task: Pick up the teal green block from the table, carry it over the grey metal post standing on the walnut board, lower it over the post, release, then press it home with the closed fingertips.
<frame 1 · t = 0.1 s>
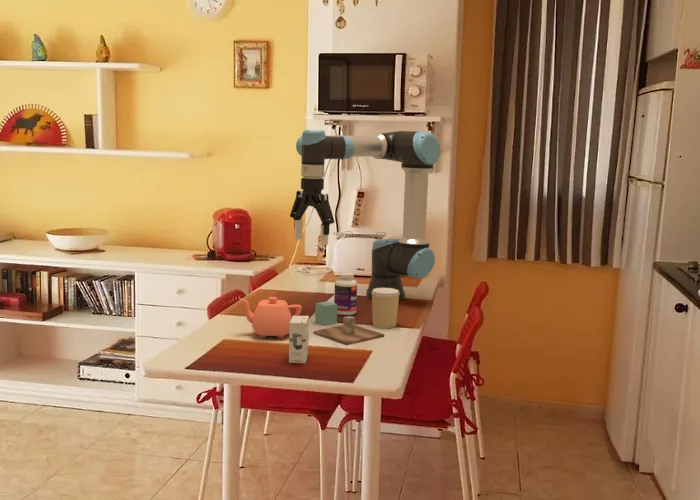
hand: (310, 242, 250), 28 cm above the table, fingers open, 13 cm apart
ink box: (298, 359, 216), on the table
pill bottle: (345, 313, 270), on the table
post stand: (348, 335, 241), on the table
coffee cup: (384, 325, 255), on the table
teal green block: (325, 322, 256), on the table
teapot: (269, 335, 239), on the table
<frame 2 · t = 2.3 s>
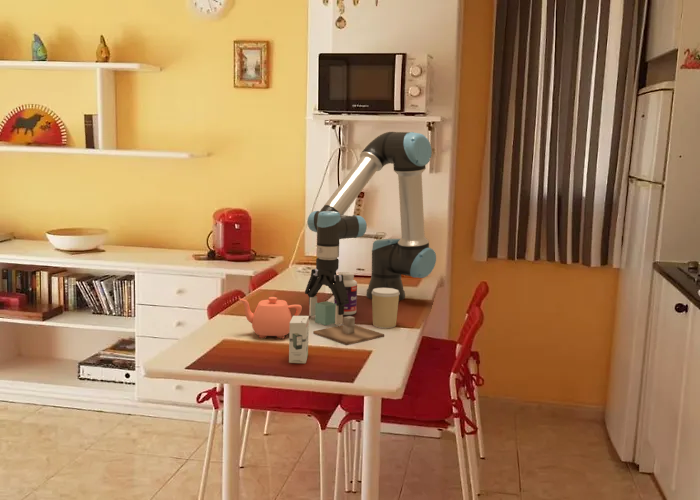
hand: (325, 319, 256), 1 cm above the table, fingers open, 13 cm apart
nothing on the table moved.
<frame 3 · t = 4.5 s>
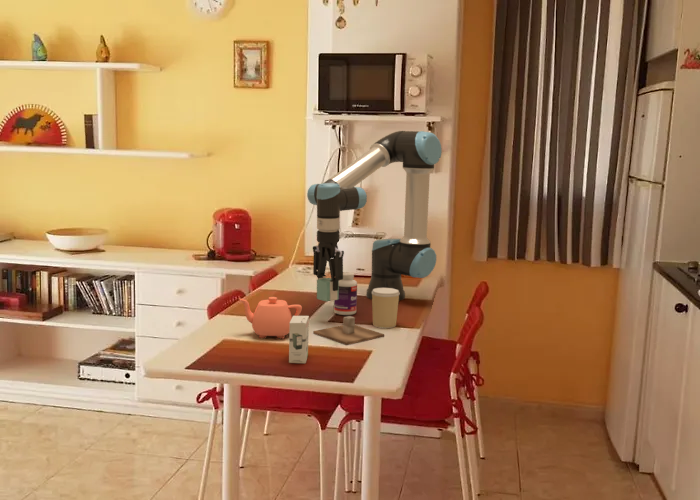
hand: (327, 298, 255), 8 cm above the table, fingers closed on teal green block, 5 cm apart
teal green block: (327, 299, 255), point 8 cm above the table, touching gripper
everything else where it was.
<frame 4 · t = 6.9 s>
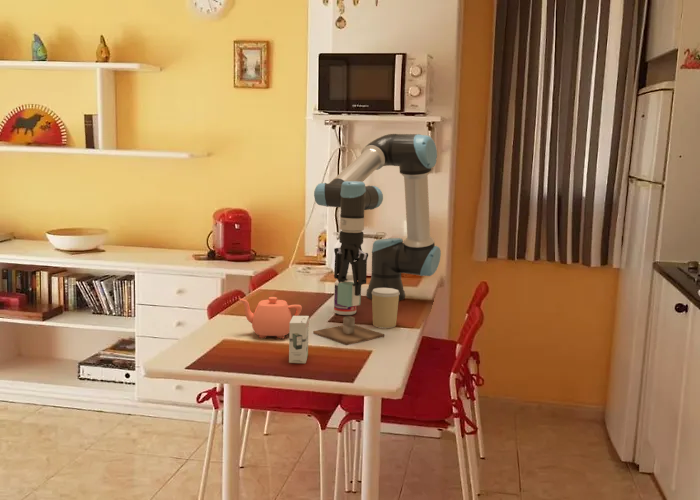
hand: (349, 303, 240), 10 cm above the table, fingers closed on teal green block, 5 cm apart
teal green block: (348, 304, 240), point 10 cm above the table, touching gripper
everything else where it was.
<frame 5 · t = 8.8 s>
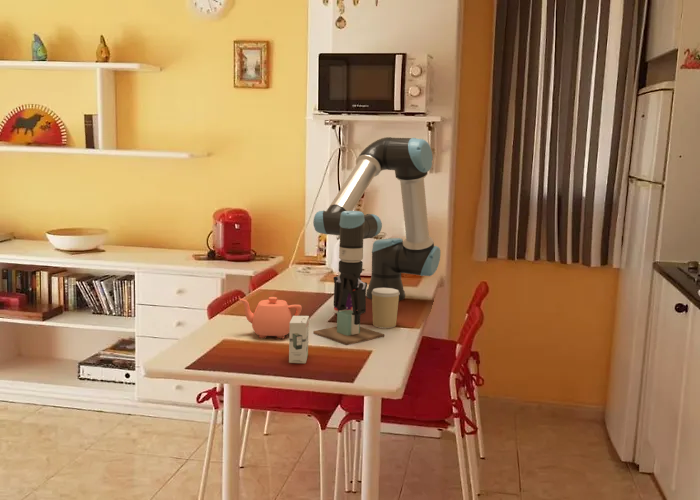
hand: (348, 331, 241), 1 cm above the table, fingers closed on teal green block, 5 cm apart
teal green block: (348, 332, 241), point 1 cm above the table, touching gripper, post stand
everything else where it was.
when the fingers open (1 cm above the table, at t = 9.5 s): teal green block stays where it is, resting on post stand.
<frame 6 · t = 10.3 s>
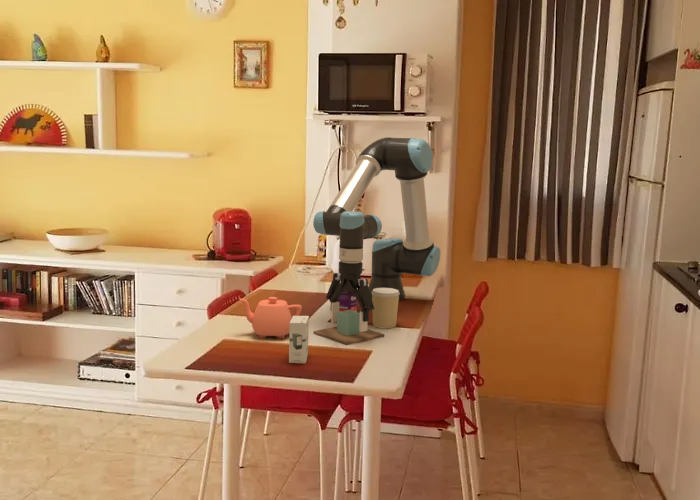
hand: (348, 326, 241), 3 cm above the table, fingers open, 13 cm apart
teal green block: (348, 332, 241), point 1 cm above the table, touching post stand
everything else where it was.
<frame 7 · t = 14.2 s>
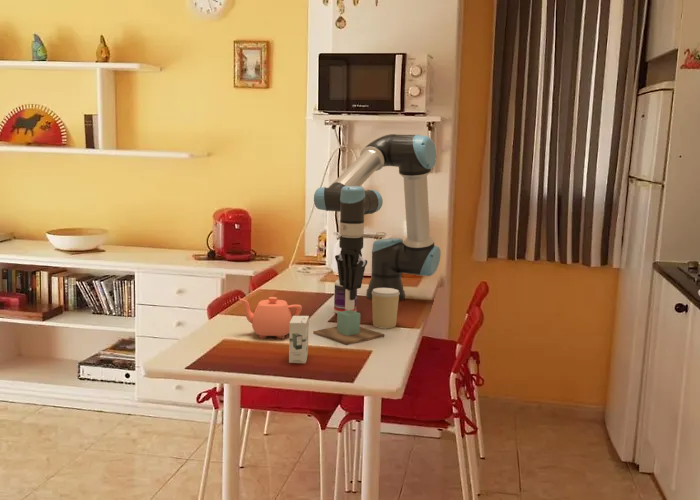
hand: (349, 309, 240), 8 cm above the table, fingers closed
nothing on the table moved.
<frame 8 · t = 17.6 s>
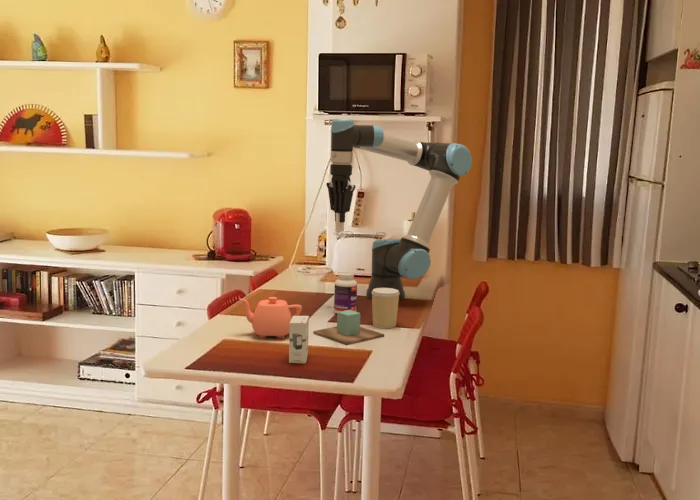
hand: (339, 231, 265), 29 cm above the table, fingers closed
nothing on the table moved.
at the end: teal green block 0.2 cm from the post stand (horizontally); teal green block point 0.8 cm above the table; the gripper is holding nothing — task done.
